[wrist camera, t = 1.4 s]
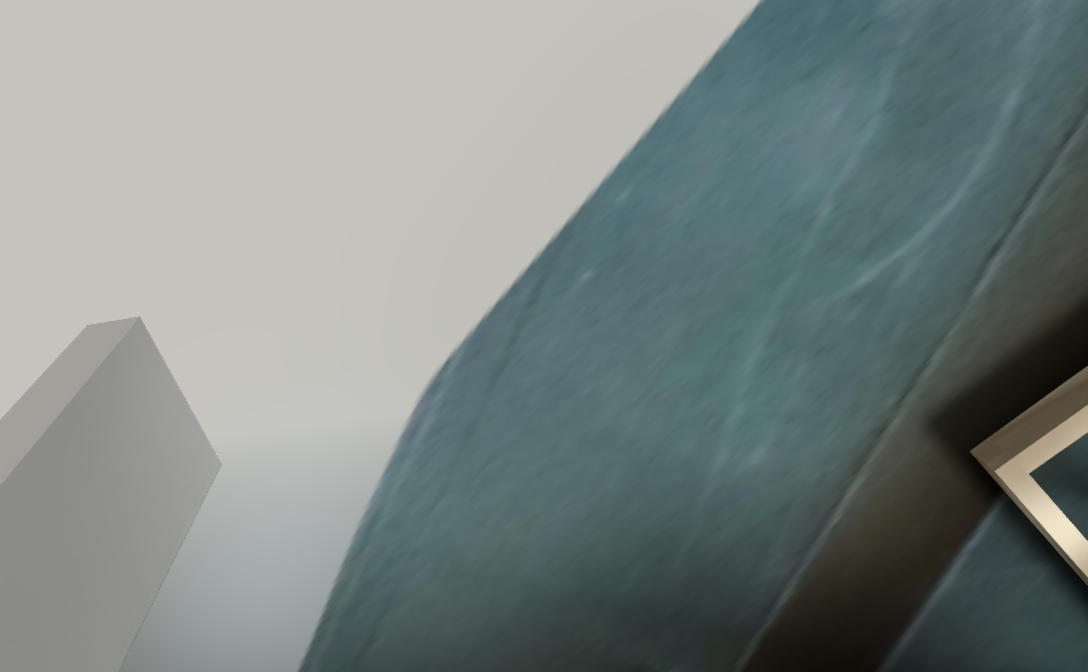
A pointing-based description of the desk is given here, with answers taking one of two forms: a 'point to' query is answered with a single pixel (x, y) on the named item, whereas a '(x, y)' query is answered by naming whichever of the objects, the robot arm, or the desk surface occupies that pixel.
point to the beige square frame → (1041, 462)
